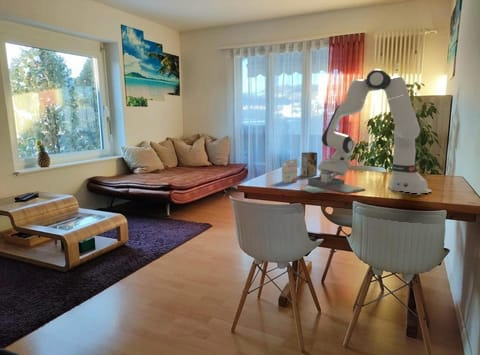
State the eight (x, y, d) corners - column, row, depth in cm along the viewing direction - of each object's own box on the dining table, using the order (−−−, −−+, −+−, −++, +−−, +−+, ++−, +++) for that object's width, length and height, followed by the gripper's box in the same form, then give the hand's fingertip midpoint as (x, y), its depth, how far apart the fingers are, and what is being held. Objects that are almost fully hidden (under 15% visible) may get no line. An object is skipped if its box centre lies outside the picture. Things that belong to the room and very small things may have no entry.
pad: (326, 190, 190) (326, 190, 190) (313, 193, 185) (313, 192, 185) (313, 187, 199) (313, 186, 198) (300, 189, 193) (300, 188, 193)
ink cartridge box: (293, 180, 219) (293, 158, 217) (297, 182, 215) (297, 159, 212) (281, 181, 216) (281, 158, 214) (285, 183, 212) (285, 159, 209)
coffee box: (310, 174, 242) (311, 151, 239) (316, 175, 237) (317, 152, 234) (300, 175, 238) (301, 152, 235) (306, 176, 232) (307, 153, 229)
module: (330, 185, 206) (331, 172, 204) (326, 185, 204) (326, 172, 202) (325, 183, 209) (326, 171, 208) (320, 184, 207) (321, 171, 206)
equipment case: (365, 190, 191) (365, 184, 191) (346, 193, 183) (347, 187, 183) (325, 181, 217) (325, 175, 216) (307, 183, 209) (308, 178, 208)
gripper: (322, 155, 216) (310, 171, 212) (348, 159, 198) (335, 177, 195) (327, 161, 219) (315, 178, 216) (352, 166, 202) (340, 183, 198)
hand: (325, 177), depth 205 cm, fingers open, 7 cm apart
